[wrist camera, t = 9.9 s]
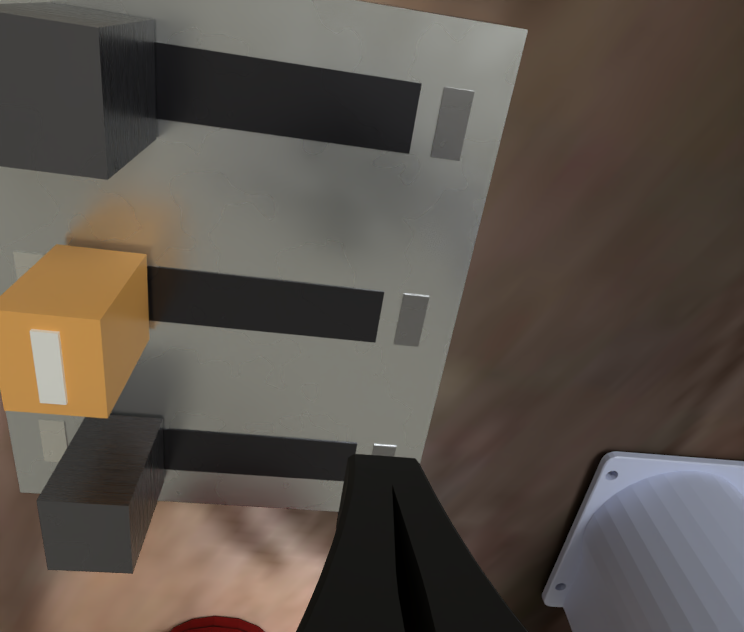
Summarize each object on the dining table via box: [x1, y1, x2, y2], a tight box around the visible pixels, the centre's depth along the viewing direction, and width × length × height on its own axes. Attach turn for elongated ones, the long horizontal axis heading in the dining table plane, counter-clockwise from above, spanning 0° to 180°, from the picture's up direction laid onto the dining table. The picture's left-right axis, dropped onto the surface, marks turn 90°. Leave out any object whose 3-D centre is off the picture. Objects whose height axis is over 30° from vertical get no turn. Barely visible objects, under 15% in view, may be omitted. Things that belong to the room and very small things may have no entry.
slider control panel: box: [0, 0, 528, 573], centre depth 17 cm, size 17×14×6 cm
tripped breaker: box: [0, 244, 149, 418], centre depth 15 cm, size 3×2×4 cm
